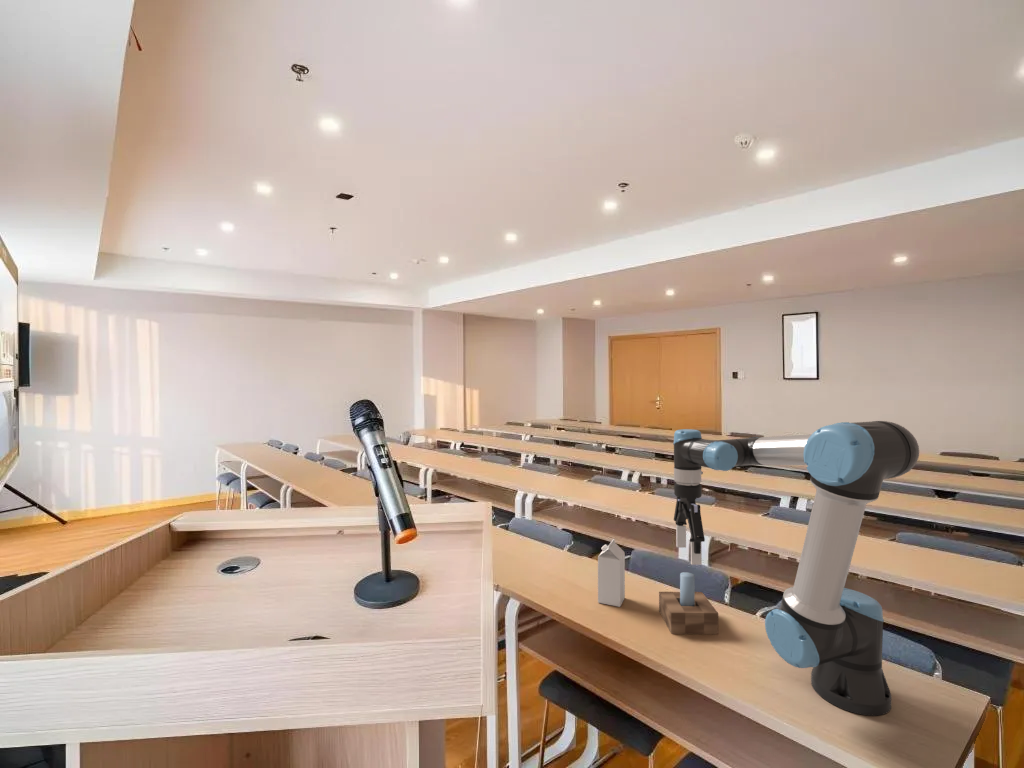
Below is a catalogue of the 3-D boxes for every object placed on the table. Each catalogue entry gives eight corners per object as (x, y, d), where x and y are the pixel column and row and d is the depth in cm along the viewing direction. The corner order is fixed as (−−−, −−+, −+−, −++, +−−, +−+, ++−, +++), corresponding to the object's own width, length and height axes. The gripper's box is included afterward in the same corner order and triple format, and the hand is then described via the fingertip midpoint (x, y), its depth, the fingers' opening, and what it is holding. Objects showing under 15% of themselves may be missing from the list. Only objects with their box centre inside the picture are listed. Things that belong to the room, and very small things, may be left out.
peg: (696, 625, 143) (696, 578, 142) (682, 625, 143) (682, 577, 142) (691, 618, 147) (692, 572, 146) (678, 618, 147) (678, 572, 146)
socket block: (718, 634, 138) (718, 613, 138) (671, 633, 138) (671, 612, 138) (701, 611, 151) (702, 592, 151) (659, 610, 151) (659, 591, 151)
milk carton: (624, 597, 160) (624, 540, 160) (620, 607, 154) (620, 547, 153) (603, 593, 163) (603, 537, 163) (597, 603, 157) (597, 544, 156)
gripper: (717, 492, 131) (717, 572, 131) (687, 474, 156) (687, 540, 156) (688, 492, 131) (689, 572, 131) (663, 474, 156) (663, 540, 156)
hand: (688, 555), depth 144 cm, fingers open, 13 cm apart
